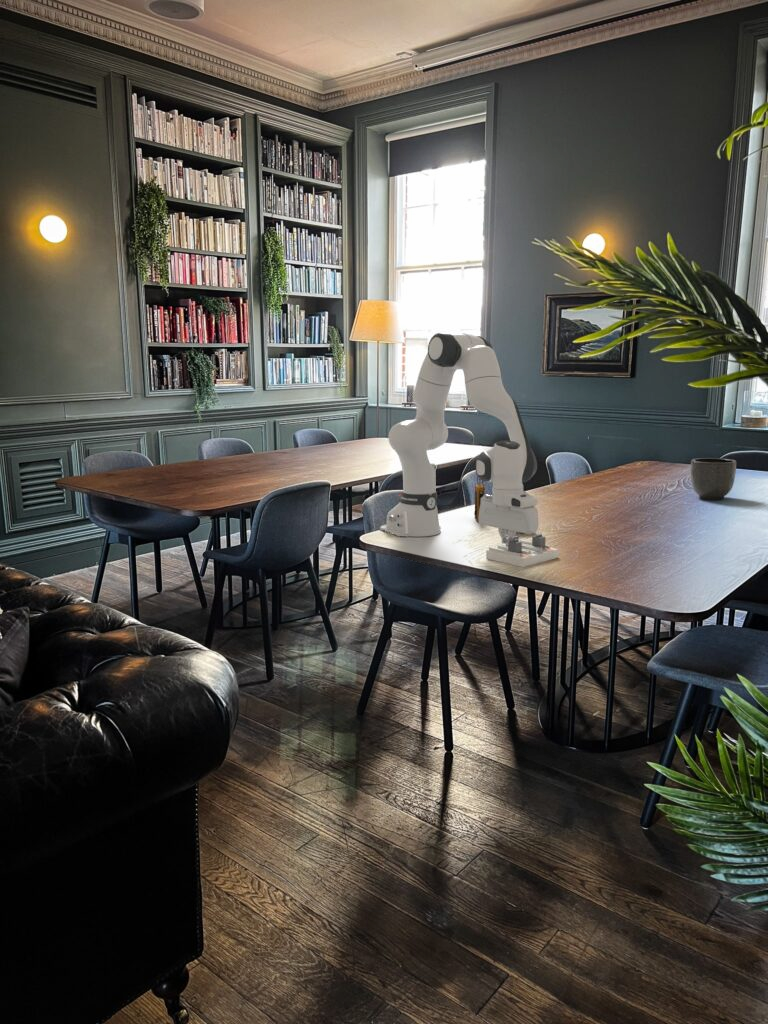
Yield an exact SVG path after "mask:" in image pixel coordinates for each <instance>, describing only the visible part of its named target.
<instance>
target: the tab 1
mask: <svg viewBox="0 0 768 1024" xmlns="http://www.w3.org/2000/svg"><path fill="white" fill-rule="evenodd" d="M519 540H520V539H514V540H512V541H508V551H511V552H516V553H522V542H520V541H519Z"/></svg>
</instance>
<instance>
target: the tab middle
mask: <svg viewBox="0 0 768 1024" xmlns="http://www.w3.org/2000/svg"><path fill="white" fill-rule="evenodd" d="M506 535H507V537H508V536H509V534H506ZM519 538H520V536H518V535H517V533H516V534H515V536H514V538H513V540H514V539H519ZM519 540H520V539H519ZM505 545H507V544H505Z"/></svg>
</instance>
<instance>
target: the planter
mask: <svg viewBox="0 0 768 1024" xmlns="http://www.w3.org/2000/svg"><path fill="white" fill-rule="evenodd" d="M736 472H737V460H735V459H729V458H720V457H719V458H718V457H717V458H716V457H714V458H713V457H701V458H693V459H691V461H690V481H691V486H692V489H693V491H694V492H695V493H696V494H697V495H698V497H699V498H700V499H702V500H705V501H721V500H723V499H724V498H725V497H726V496H727V495H728V494H729V493H730V492H731V490H733V487H734V483H735V479H736Z"/></svg>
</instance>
